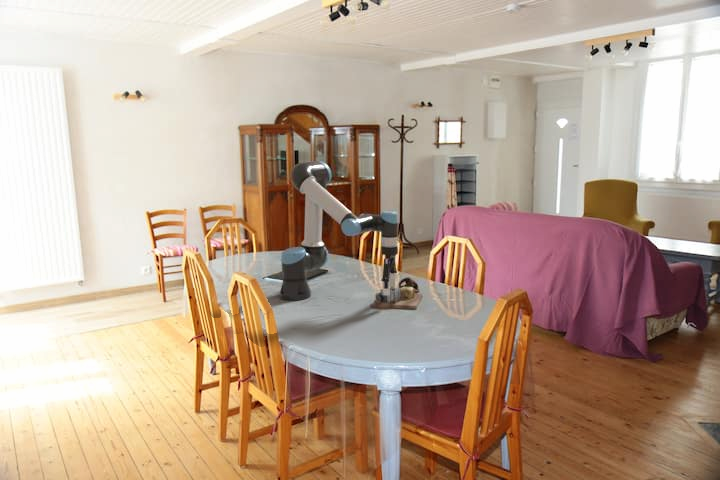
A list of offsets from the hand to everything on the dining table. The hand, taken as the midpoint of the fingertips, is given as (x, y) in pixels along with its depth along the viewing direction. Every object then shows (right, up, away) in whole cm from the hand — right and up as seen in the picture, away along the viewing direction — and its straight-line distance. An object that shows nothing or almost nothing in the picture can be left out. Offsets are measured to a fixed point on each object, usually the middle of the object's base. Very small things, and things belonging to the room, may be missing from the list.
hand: (389, 291), depth 256 cm
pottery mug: (+11, -2, +20) cm, 23 cm away
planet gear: (+1, -4, 0) cm, 4 cm away
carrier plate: (+4, -5, +3) cm, 7 cm away
